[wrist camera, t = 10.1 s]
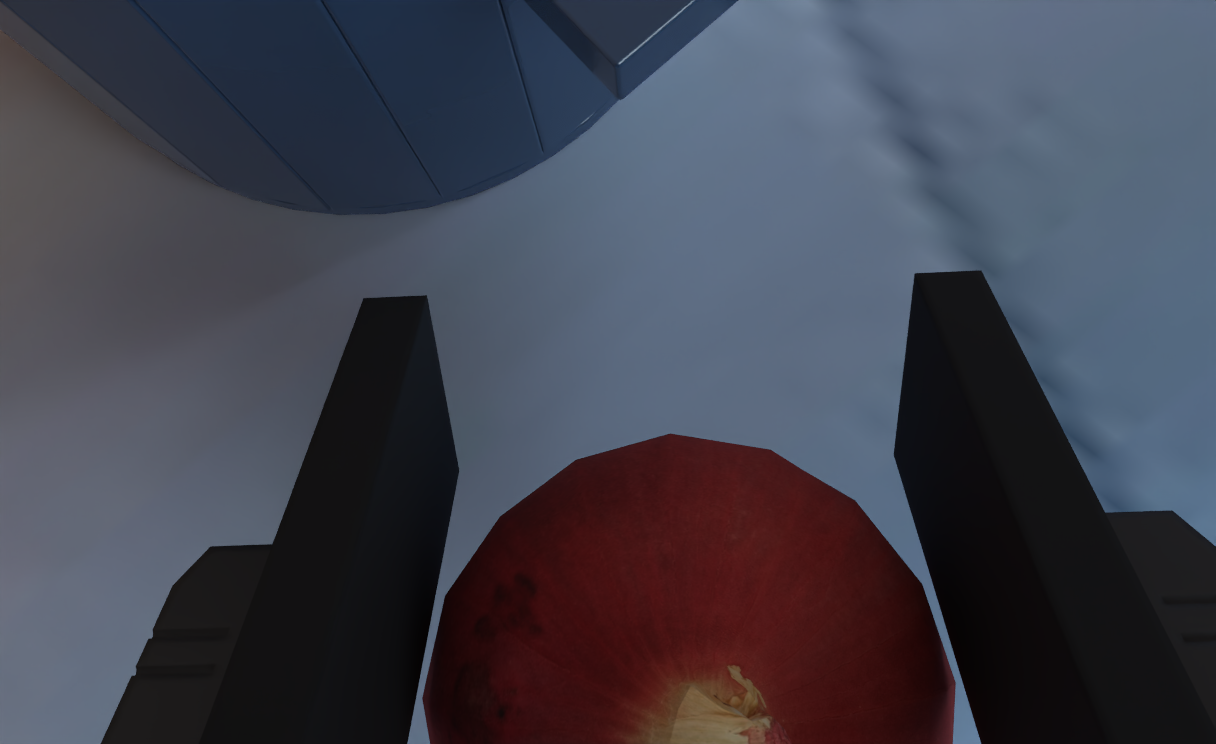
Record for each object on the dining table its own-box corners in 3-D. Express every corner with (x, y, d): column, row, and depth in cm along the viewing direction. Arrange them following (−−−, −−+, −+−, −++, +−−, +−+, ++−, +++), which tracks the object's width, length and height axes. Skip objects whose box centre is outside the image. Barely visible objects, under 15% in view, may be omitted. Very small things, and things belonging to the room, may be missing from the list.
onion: (641, 955, 16) (616, 1365, 8) (408, 622, 17) (171, 684, 9) (961, 702, 16) (1251, 845, 8) (715, 388, 17) (757, 241, 9)
